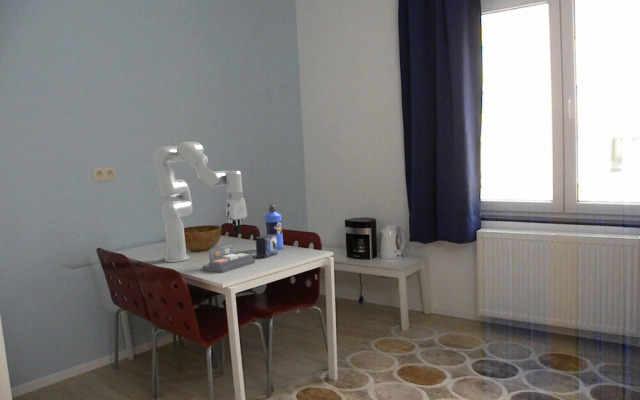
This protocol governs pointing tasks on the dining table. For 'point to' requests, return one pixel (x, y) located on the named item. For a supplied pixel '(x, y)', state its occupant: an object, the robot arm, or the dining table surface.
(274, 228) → the water bottle
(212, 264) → the keypad
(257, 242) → the small box
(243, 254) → the sage key
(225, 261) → the terracotta key
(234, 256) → the grey key
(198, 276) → the dining table surface
